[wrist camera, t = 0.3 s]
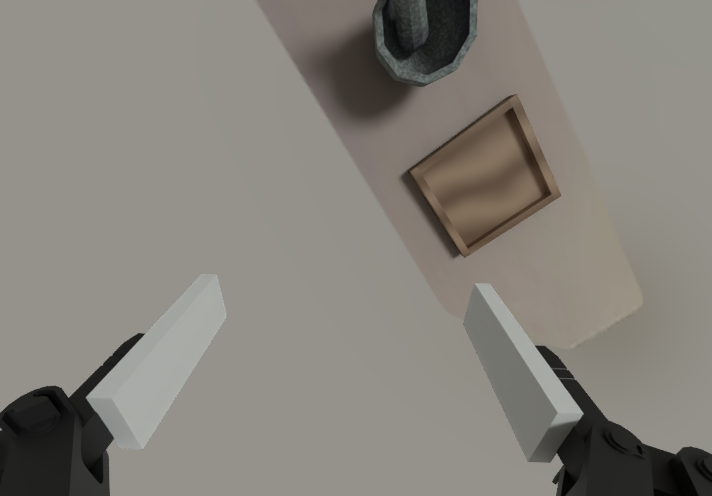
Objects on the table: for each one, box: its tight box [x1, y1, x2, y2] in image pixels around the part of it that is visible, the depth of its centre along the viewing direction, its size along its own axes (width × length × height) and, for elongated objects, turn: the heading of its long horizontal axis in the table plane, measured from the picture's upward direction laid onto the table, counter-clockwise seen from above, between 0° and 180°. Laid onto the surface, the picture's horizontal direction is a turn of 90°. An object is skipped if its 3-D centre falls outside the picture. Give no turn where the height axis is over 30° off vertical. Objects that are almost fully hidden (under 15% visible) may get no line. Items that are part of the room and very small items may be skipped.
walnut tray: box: [408, 94, 561, 258], centre depth 37 cm, size 15×15×2 cm
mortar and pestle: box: [372, 0, 478, 87], centre depth 26 cm, size 11×9×12 cm
